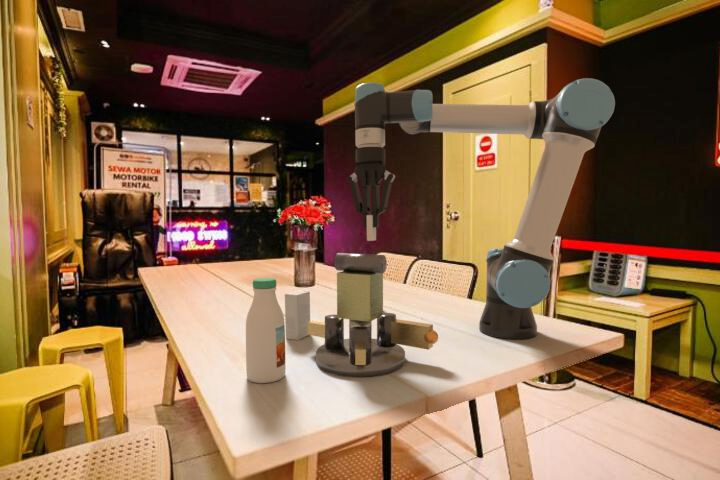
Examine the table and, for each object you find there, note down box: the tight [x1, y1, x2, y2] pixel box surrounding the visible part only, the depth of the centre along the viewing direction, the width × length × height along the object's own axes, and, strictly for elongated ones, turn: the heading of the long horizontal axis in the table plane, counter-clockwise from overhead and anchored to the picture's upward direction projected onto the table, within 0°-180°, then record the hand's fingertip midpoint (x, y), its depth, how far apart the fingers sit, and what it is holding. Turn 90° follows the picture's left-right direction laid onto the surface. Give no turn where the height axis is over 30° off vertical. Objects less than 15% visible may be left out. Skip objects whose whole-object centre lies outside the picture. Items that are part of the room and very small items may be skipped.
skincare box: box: [284, 289, 311, 341], centre depth 113 cm, size 6×4×12 cm
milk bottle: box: [245, 277, 286, 384], centre depth 85 cm, size 8×8×20 cm
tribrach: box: [308, 252, 406, 378], centre depth 94 cm, size 24×23×24 cm
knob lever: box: [376, 312, 439, 350], centre depth 96 cm, size 15×4×7 cm, turn 59°
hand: (371, 240), depth 109 cm, fingers closed
